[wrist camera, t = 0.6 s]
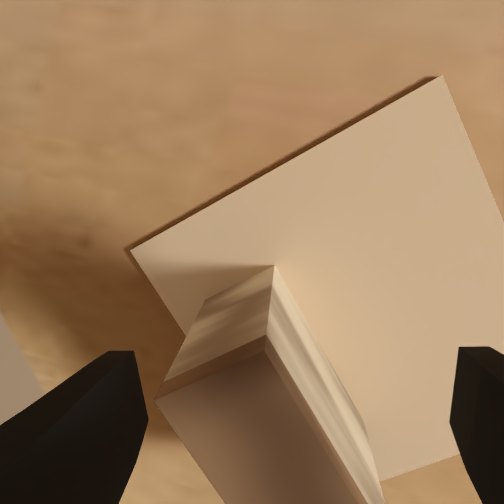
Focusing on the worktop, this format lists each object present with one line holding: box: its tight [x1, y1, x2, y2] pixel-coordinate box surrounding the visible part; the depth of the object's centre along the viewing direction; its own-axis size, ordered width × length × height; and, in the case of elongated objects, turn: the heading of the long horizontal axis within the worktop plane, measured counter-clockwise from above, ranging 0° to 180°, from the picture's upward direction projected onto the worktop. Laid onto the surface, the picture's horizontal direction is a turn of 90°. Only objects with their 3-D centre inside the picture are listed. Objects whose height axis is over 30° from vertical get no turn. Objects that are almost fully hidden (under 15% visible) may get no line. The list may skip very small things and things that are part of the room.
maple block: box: [154, 265, 385, 504], centre depth 17 cm, size 4×10×8 cm, turn 30°
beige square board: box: [130, 75, 504, 482], centre depth 20 cm, size 16×18×1 cm
